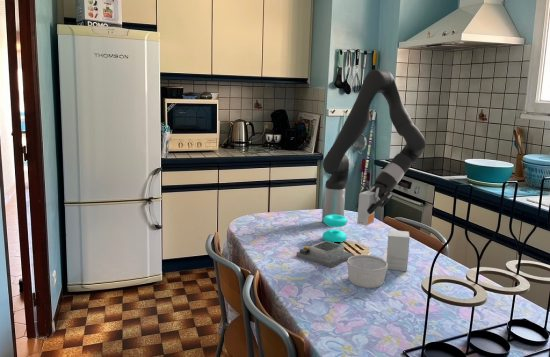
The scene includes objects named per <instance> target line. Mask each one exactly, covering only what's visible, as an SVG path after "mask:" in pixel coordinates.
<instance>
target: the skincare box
mask: <svg viewBox="0 0 550 357" xmlns="http://www.w3.org/2000/svg"><path fill="white" fill-rule="evenodd" d="M361 192H362V191H361ZM361 192H360V193H359V195H358V202H359V205H358V209H357V219H356V220H357V222H356V223H357V225H360V226H361V225H362V226H364V227H367V226H370V225H371V224H373V223H374V221H375V211H376V210H375V211H374V212H373V213H372V214H369V213H368V212H367V209H368V208H369V207H370V206H371V204H372V203H373V204H374V200H375V198H374V197H375V192H370V191H365V192H362V193H361Z"/></svg>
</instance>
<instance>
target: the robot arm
mask: <svg viewBox="0 0 550 357" xmlns="http://www.w3.org/2000/svg"><path fill="white" fill-rule="evenodd" d="M378 93H379V94H382V96H383V97H384V99H385V100H386V103H387V104H388V110H389V111H388V112H389V113H388V114H389V118H390V120H391V123H392V125H393V128H394V129H395V131H396V132H397V134H398V135H399V136H400V137H403V139H404V141H405V145H404V147H403V148H402V149H401V151H399V153H397V154H396V155H395V156H394V157H393V158H392V159H391V160H390V162H388V164H387V165H386V166H385V167H384V168H383V169H382V170H381V172H380V173H379V174H378V175H377V177H376V178H375V179H374V184H372V185H369V184H366V185H364V187H363V189H362V190H361V192H360V193H362V192H365V191H370V192H375V197H374V198H375V200H374V204H373V203H372V204H371V206H370V207H369V208H368V209H367V212H368V213H369V214H372V213H373V212H374V211H376V209H378V208H379V207H381V208H384V207H385V205H387V203H389V201H390V200H391V199H392V198H393V197H394V196H393V195H392V193H391V192H392V191H393V190H394V188H396V187H397V185H398V184H399V182H401V180H402V179H403V177H404V175H405V174H406V173H407V171H408V170H409V169H410V168H411V166H412V165H413V164H414V163H415V162H416V160H418V159H419V157H420V156H421V155H422V154H423V152H424V150H425V148H426V146H427V145H426V144H427V141H426V139H425V136H424V135H423V134H422V132H421V131H420V130H419V128H418V127H417V126H416V125H415V124H414V122H413V119H412V118H411V116H410V114H409V113H408V110H407V109H406V107H405V104H404V102H403V100H402V97H401V95H400V91H399V89H398V86H397V83H396V80H395V78H394V75H393V74H392V73H391V72H390V71H388V70H385V69H384V70H383V69H377V68H376V69H371V70H370V71H368V73H367V74H366V76H365V77H364V79H363V82H362V84H361V88H360V89H359V92H358V95H357V97H356V99H355V102H354V103H353V105H352V108H351V110H350V112H349V113H348V115H347V117H346V119H345V121H344V123H343V125H342V127H341V129H340V131H339V133H338V135H337V136H336V138H335V141H334V143H333V144H332V146H331V147H330V149H329V150H328V152H327V153H326V155H325V157H324V158H323V161H322V169H323V171H324V172H325V173H326V174H329V175H330V177H329V178H328V179H327V180H326V181H325V190H324V191H325V192H324V202H323V203H322V212H321V214H322V215H321V222H322V223H323V224H324V225H326V224H325V223H324V221H323V219H324V217H325V216H327V215H342V216H344V217H345V202H346V201H345V199H346V185H347V183H348V179H349V170H350V161H349V158H348V155H347V154H346V153H348V150H350V149H351V147H352V146H353V145H354V144H355V143H357V142H358V140H359V139H360V138H361V137H362V136H363V134H364V132H365V130H366V129H367V127H368V125H369V122H370V108H371V104H372V102H373V100H374V98H375V97H376V95H377V94H378ZM358 205H359V201H358V202H357V203H356V204H355V208H357V210H358ZM374 213H375V212H374Z"/></svg>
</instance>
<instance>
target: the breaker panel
mask: <svg viewBox="0 0 550 357" xmlns="http://www.w3.org/2000/svg"><path fill="white" fill-rule="evenodd" d="M351 256H354V254H353V253H351V252H348V251H345V245H343V244H340V243H333V242H330V241H327V240H323V241H319V242H318V243H316V244H313V245H310V246H308V245H305V246H303V248H301V249H299V251H296V257H298V258H302V259H304V260H307V261H309V262H313V263H316V264H319V265H322V266H325V267H328V268H330V269H331V268H333V267H336V266H338V265H340V264H343V263H344V262H347V259H348V258H349V257H351Z"/></svg>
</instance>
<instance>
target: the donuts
mask: <svg viewBox="0 0 550 357" xmlns="http://www.w3.org/2000/svg"><path fill="white" fill-rule="evenodd" d="M323 221H324V223H325V224H324V223H323V224H324V225H327V226H328V227H331V228H342V227H344V226H345V227H346V225H347V223H348V218H347V217H346V216H345V215H344V216H342V215H327V216H325V217H324V219H323ZM322 239H323V241H325V240H327V241H330V242H341V243H344V242H345V241H346V240H347V234H346V233H345V231H342V230H339V229H328V230H325V231H324V232H323V233H322ZM343 241H344V242H343Z"/></svg>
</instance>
